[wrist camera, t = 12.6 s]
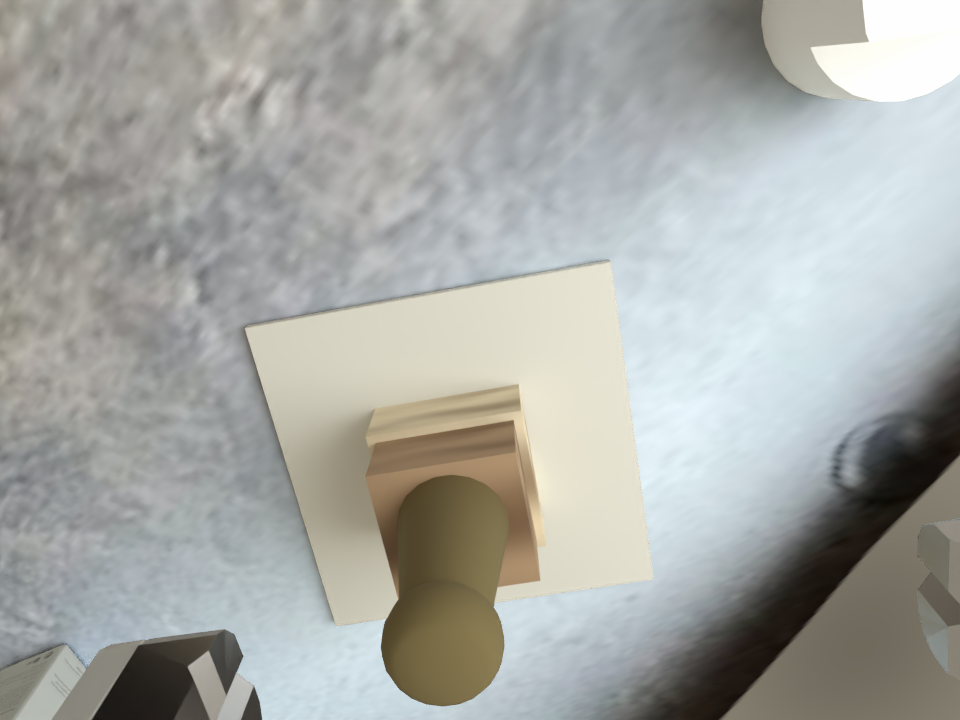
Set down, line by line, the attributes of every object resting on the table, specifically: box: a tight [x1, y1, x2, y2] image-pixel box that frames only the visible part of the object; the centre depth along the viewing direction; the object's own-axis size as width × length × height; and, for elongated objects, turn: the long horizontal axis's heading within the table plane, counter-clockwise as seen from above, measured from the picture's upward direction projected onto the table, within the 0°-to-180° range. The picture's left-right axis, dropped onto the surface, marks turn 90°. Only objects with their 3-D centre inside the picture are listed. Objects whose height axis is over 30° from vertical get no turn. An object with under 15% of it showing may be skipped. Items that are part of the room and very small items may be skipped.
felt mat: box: [245, 260, 654, 626], centre depth 50 cm, size 22×22×1 cm
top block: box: [365, 420, 540, 600], centre depth 44 cm, size 8×8×4 cm
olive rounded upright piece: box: [381, 475, 510, 706], centre depth 37 cm, size 6×6×11 cm
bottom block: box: [365, 384, 546, 547], centre depth 47 cm, size 9×9×4 cm
